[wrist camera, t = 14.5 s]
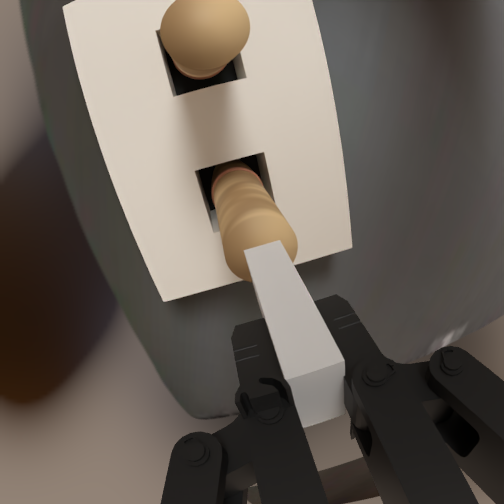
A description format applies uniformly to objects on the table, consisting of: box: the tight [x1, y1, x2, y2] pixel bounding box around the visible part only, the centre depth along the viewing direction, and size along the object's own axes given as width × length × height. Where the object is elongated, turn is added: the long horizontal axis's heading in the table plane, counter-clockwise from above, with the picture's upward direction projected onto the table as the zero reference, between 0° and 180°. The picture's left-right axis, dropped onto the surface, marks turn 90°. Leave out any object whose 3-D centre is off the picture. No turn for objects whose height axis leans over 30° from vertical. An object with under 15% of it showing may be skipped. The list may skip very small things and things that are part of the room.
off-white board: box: [63, 0, 352, 302], centre depth 22 cm, size 16×24×4 cm, turn 13°
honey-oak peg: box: [211, 159, 298, 282], centre depth 20 cm, size 4×4×13 cm
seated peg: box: [160, 0, 250, 79], centre depth 15 cm, size 4×4×13 cm
